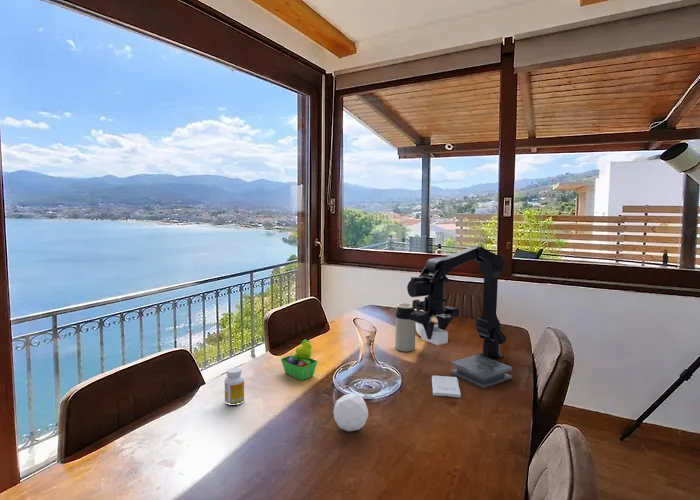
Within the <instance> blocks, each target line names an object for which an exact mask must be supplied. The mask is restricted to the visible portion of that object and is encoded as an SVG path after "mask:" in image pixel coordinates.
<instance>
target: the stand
mask: <svg viewBox="0 0 700 500" xmlns="http://www.w3.org/2000/svg"><path fill="white" fill-rule="evenodd" d="M450 365H451V366H453V367H455V368H454V369H451V370H450V374H452V375H453V376H455V377H457V378H461V379H462V380H465V381H467V382H470V383H472V384H474V385H476V386H477V387H480V388H482V389H487V388H490V387H491V386H492V387H493V386H495V385H497V384H500V383H503V382H505V381H509V380H511V379H512V375H511V374H508V373H507V372H509V371H512V370H513V366H510V365H507V364H505V363H503V362H500V361H497V360H496V359H494V360H493V359H490V358H487V357H484V356H482V355H480V353H479V354H477V353H476V354H473V355H471V356H467V357H464V358H463V357H462V358H460V359H456V360H453V361H451V362H450Z"/></svg>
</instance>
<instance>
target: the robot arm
mask: <svg viewBox="0 0 700 500" xmlns="http://www.w3.org/2000/svg"><path fill="white" fill-rule="evenodd" d="M473 260H475V261H476V262H478V263H479V269H480V272H481V274H482V276H483V292H482V294H483V295H482V298H483V299H482V314H481V315H480V317H477V318H476V320H475V321H476V326H475V329H476V331H477V333H478V336H479V339H483V342H482V343H483V345H482V352H480V353H479V355H481V356H484V357H487V358H489V359H492V360H497V359H500V358H501V359H502V358H503V357H504V354H501V345H503V344H505V343H506V340H507V337H506V336H505V334H504V333H503V332H502V329H501V322H500V320H499V318H498V315H497V306H498V305H497V304H498V282H499V280H498V279H499V277H500V276H501V274H502V272H503V269H504V264H505V260H504V257H503V256H502V255H500V254H496V253H495V252H492V251H490V250H488V249H486V248H485V247H483V246H482V245H481V246H480V245H471V246H469V247H468V248H464V249H463V250H460V251H458V252H454V253H452V254H450V255H448V256H439V257H432V258H429V259H428V260H427V261H426V264H425V266H424V267H423V269H422V271H421V272H420V274H419V275H418V276H411V277H410V280H409V282H408V284H407V286H406V290H407V293H408V295H409V297H411V298H418V297H424V299H423V300H420V299H414V300H412V302H411V304H412V306H413V309H414V310H415V309H416V311H415V312H412V313H411V320H412V321H415V322H418V323H422V324H423V327H424V329H425V332H426V335H427V338H428V339H429V340H430V339H431V336H432V332H433V328H434V323H435V322H433V321H432V317H435V318H437V320H438V327H439V329H442V330H445V331H446V329H447V327H448V326H449V324H450V323H451V321H453V318H458V317H459V316H460V310H459V309H458V307H454V306H450V305H445V302H447V297H445V283H449V282H450V281H451V279H449V277H447V275H448V274H449V273H451V272H452V271H453V269H454V268H456V267H458V266H461V265H463V264H465V263H466V264H467V263H468V262H471V261H473Z"/></svg>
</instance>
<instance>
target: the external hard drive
mask: <svg viewBox="0 0 700 500" xmlns="http://www.w3.org/2000/svg"><path fill="white" fill-rule="evenodd" d="M431 384H432V385H431V386H432V396H440V397H452V398H462V394H461V389H460V385H459V380H458V376H444V375H442V376H441V375H431Z"/></svg>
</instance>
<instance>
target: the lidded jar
mask: <svg viewBox="0 0 700 500" xmlns="http://www.w3.org/2000/svg"><path fill="white" fill-rule="evenodd" d="M432 321H433V322H435V323H434V326H438V320H437V318H436V317H432ZM422 328H424V327H423V324H422V323H418V322H416V330H415V332H417V334H418V336H419V337H420V336H421V330H422Z"/></svg>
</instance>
